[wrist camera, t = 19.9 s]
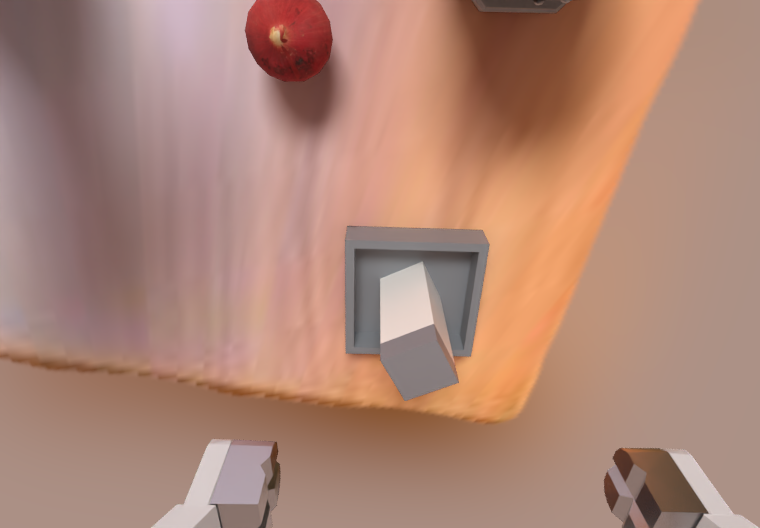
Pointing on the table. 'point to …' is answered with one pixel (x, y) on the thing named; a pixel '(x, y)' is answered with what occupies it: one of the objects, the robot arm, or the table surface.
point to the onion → (289, 38)
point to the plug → (414, 333)
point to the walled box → (399, 251)
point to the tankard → (520, 5)
